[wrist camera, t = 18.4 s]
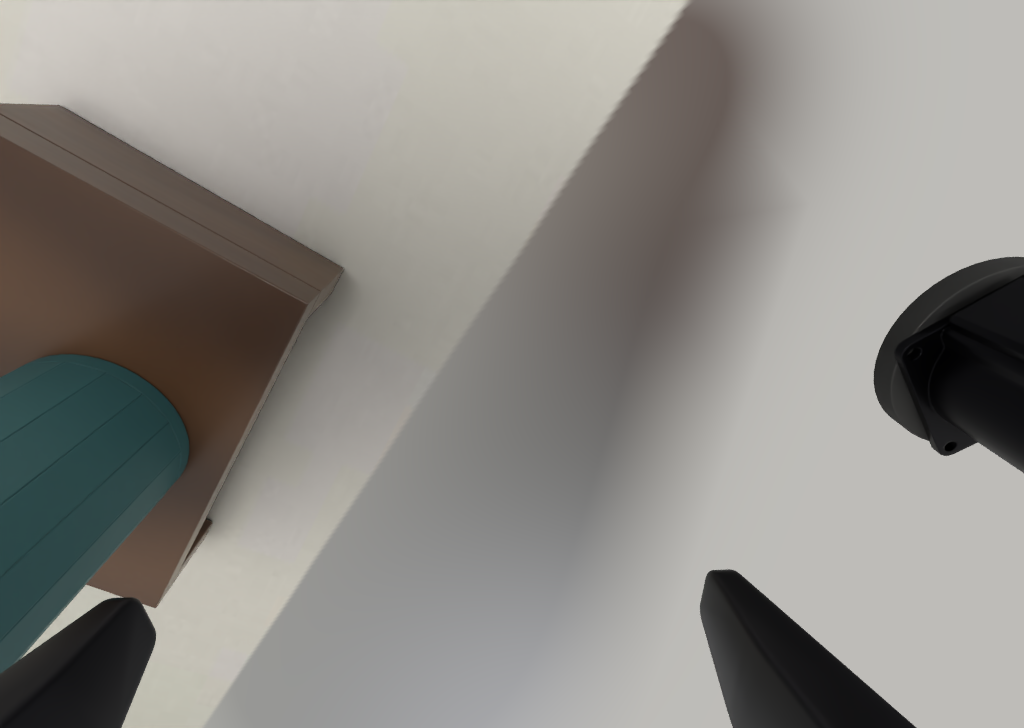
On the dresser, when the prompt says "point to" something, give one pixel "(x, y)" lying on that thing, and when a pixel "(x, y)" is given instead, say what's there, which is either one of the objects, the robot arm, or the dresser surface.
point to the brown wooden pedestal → (148, 304)
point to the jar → (74, 481)
